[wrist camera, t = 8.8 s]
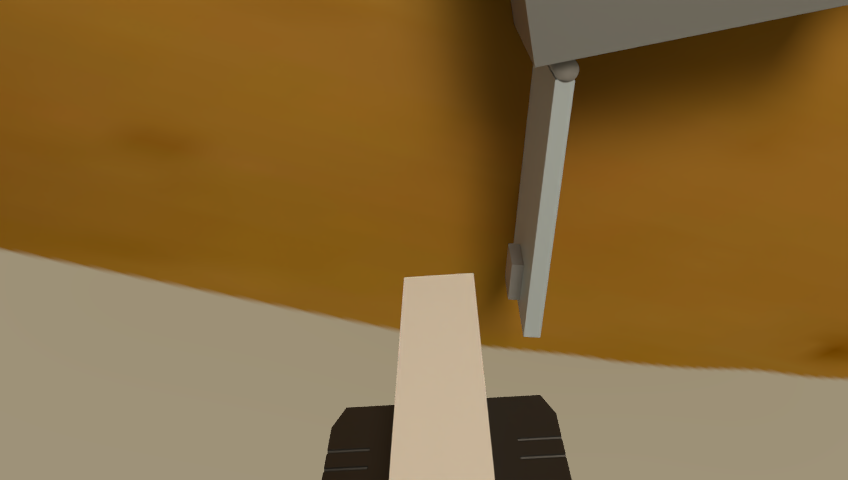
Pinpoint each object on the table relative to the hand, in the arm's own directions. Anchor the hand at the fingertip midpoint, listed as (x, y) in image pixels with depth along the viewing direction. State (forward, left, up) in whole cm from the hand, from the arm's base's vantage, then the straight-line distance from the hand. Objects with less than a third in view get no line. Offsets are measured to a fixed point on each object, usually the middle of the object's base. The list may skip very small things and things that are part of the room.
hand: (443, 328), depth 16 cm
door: (+3, -5, -23) cm, 24 cm away
